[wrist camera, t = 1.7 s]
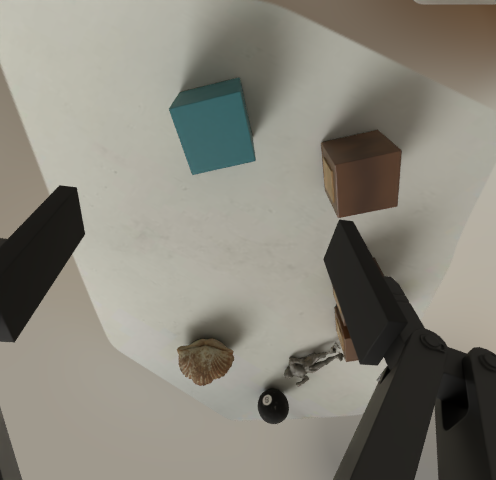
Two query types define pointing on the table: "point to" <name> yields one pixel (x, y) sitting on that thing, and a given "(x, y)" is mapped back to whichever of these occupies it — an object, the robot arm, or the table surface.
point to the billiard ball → (273, 406)
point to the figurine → (309, 364)
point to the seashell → (205, 360)
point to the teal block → (213, 126)
